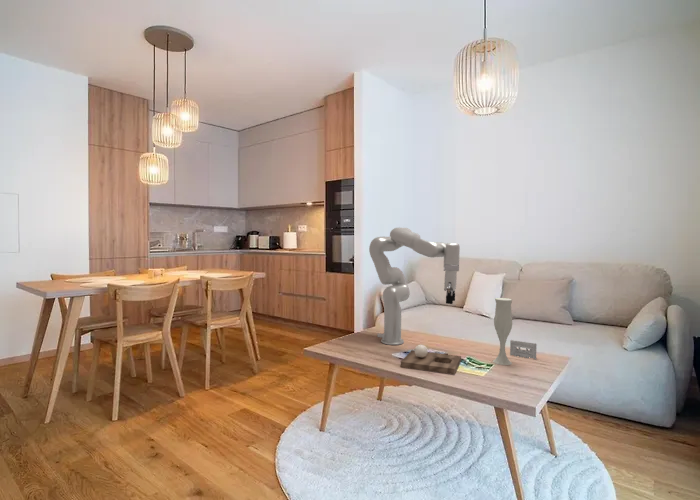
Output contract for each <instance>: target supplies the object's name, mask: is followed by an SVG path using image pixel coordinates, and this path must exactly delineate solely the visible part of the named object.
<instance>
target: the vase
mask: <svg viewBox="0 0 700 500" xmlns="http://www.w3.org/2000/svg"><path fill="white" fill-rule="evenodd" d="M494 299H495V308H494V309H495V312H494V316H493V324H494V325H493V326H494V329H495V331H496V335H497V338H498V341H499V352H498V354H497V357H496V358H494V360H492V363H494V364H497V365H501V366H510V365H513V363H512V361H511V360H510V359H508V356H507V352H506V343H507V339H508V337H509V335H510V334H511V330H512V328H513V315H512V302H513V299H511V298H508V297H506V298H505V297H497V298H494Z"/></svg>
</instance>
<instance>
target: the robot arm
mask: <svg viewBox="0 0 700 500" xmlns="http://www.w3.org/2000/svg"><path fill="white" fill-rule="evenodd" d="M368 247H369V256H370V258H371V259H372V262H373V264H374V267H375V271H376V273H377V276H378V279H379V282H380V283H381V284H382V285H390V286H386V288H384V290H383V292H382V301H383V309H384V312H383V313H384V314H383V315H384V316H383V324H384V325H383V333H379V332H378V333H376V334H377V335H376V336H377V338H380V339H381V340H380V341H381V342H380V343H382V344H384V345H389V346H399V345H403V344H404V343H405V340H404V339H403V338H402V308H401V304H400V303H401V302H405V301H408V299H409V298H410V296H411V295H410V294H411V293H410V288H409V285H408V283H407V280H406V277H405V274H404V273H403V271H402V270H401V269H400V268H399V267H395V266H394V267H393V266H391V264H390V260H389V258H388V256H387V255H386V254H385V253H384V252H394V251H396V250H398V249H400V248H402V247H406V248H409V249H411V250H413V251H414V252H415V253H418V254H420V255H423V256H425V257H428V258H443V271H444V272H445V273H444V283H443V284H444V285H443V286H444V287H443V290H444V292H446V295H445V304H447V305H453V303H454V302H456V301H455V300H456V290H457V275H458V274H457V272H460V250H461V249H460V244H459V243H456V242H453V243H452V242H447V243H446V242H442V241H441V242H438V241H437V242H435V241H434V242H432V241H429V240H425V239H422V238H421V235H420V234H419V233H416V232H413V231H412V230H411V229H410V228H408V227H394V228H392V229H391V231H390V232H389V236H376V237H375V238H373V239H372V240H371V242H370V244H369V246H368Z"/></svg>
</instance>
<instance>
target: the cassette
mask: <svg viewBox="0 0 700 500" xmlns="http://www.w3.org/2000/svg"><path fill="white" fill-rule="evenodd" d="M537 346H538V344H537V343H536V342H529V341H521V340H514V339H511V340H510V347H509V351H510V352H509V355H510V356H512V355H514V357H517V356H519V357H518V358H523V357H525V359H529V357H530V358H534V359H533V360H537ZM521 348H523V349H521Z"/></svg>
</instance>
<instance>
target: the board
mask: <svg viewBox="0 0 700 500" xmlns="http://www.w3.org/2000/svg"><path fill="white" fill-rule="evenodd" d="M461 363H462V356H461V355H455V354H446V353H439V352H430V351H428V353H427V355H426V356H425V357H423V358H420V357H418V356H416V354H415V349H414V350H413V349H412V350H411V351H409V353H407V355H405V357H404V358H402V360H401V361H400V368H406V369H412V370H419V371H426V372H433V373H442V374H448V375H453V376H455V375H456V374H457V371H458V369H459V367H460V364H461Z"/></svg>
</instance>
